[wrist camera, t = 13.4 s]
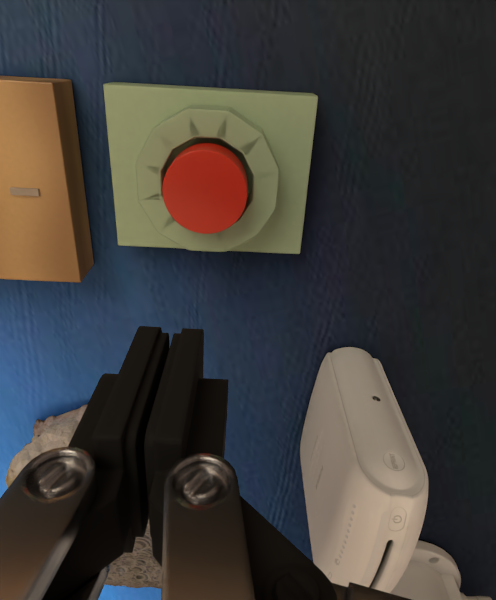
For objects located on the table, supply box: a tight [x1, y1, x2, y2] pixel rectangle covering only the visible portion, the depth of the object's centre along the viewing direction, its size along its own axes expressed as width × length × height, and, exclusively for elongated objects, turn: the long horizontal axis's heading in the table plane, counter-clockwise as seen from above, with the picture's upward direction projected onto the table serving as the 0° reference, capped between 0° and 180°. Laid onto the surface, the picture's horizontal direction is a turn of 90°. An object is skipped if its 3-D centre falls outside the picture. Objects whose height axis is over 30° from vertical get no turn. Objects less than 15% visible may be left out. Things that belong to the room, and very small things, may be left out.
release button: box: [162, 143, 248, 234], centre depth 21 cm, size 4×4×2 cm
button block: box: [103, 82, 318, 254], centre depth 23 cm, size 10×8×4 cm
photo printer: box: [300, 347, 428, 593], centre depth 27 cm, size 10×4×12 cm, turn 172°
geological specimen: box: [6, 405, 162, 588], centre depth 34 cm, size 11×6×15 cm
